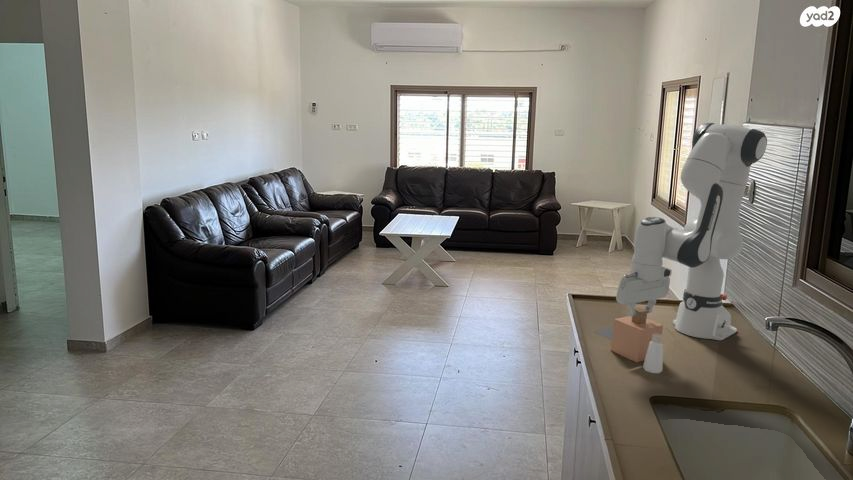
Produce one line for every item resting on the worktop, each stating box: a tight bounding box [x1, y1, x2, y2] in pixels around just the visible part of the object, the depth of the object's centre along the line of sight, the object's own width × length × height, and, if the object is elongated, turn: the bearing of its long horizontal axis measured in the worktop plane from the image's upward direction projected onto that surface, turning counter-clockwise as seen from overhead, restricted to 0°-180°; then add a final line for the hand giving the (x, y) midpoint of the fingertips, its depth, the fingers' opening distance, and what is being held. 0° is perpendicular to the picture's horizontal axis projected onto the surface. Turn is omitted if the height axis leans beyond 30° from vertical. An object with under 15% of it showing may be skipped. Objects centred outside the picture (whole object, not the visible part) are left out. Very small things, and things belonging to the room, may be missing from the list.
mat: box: [594, 327, 613, 341], centre depth 212 cm, size 12×12×1 cm
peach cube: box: [610, 307, 664, 363], centre depth 196 cm, size 10×10×15 cm
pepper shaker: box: [642, 333, 664, 374], centre depth 186 cm, size 5×5×11 cm
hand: (639, 314), depth 194 cm, fingers open, 6 cm apart
